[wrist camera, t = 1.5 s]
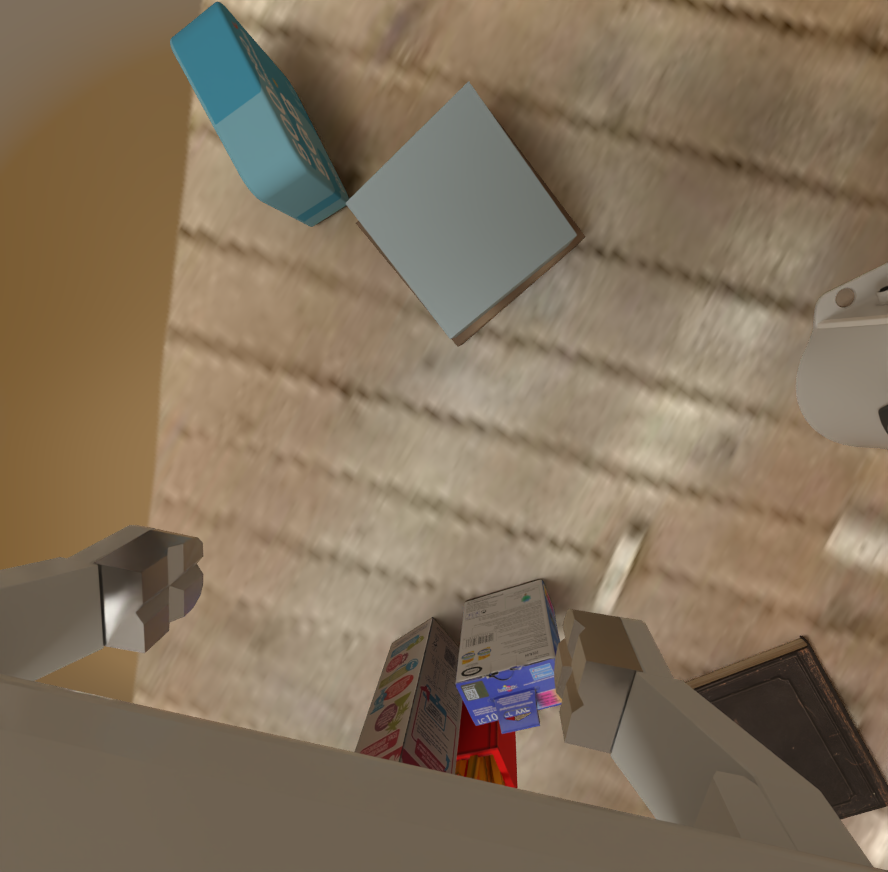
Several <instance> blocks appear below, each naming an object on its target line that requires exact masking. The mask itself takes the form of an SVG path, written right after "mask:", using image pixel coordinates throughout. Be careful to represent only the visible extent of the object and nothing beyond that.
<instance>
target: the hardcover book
mask: <svg viewBox="0 0 888 872" xmlns="http://www.w3.org/2000/svg"><path fill="white" fill-rule="evenodd" d="M686 684H687V685H689V686H690V687H691V688H692V689H694V690H695V691H696V692H697V693H699V694H700V695H701V696H702V697H704V698H705V699H706V700H707V701H709V702H710V703H711V704H712V705H714V706H715V707H716V708H717V709H719V710H720V711H721V712H722V713H724V714H725V715H726V716H727V717H729V718H730V719H731V720H732V721H734V722H735V723H736V724H737V725H739V726H740V727H741V728H742V729H744V730H745V731H746V732H747V733H749V734H750V735H751V736H752V737H753V738H755V739H756V740H757V741H758V742H760V743H761V744H762V745H763V746H765V747H766V748H767V749H768V750H770V751H771V752H772V753H773V754H775V755H776V756H777V757H778V758H780V759H781V760H782V761H783V762H785V763H786V764H787V765H788V766H790V767H791V768H792V769H793V770H795V771H796V772H797V773H798V774H800V775H801V776H802V777H803V778H805V779H806V780H807V781H808V782H810V783H811V784H812V785H813V786H815V787H816V788H817V789H818V790H820V791H821V793H822V794H823V796H824V797H825V799H826V800H827V801H828V803H829V804H830V806H831V807H832V809H833V810H834V811H835V813H836V814H837V816H838V817H839V819H844V818H847V817H851V816H854V815H858V814H861V813H865V812H868V811H872V810H875V809H879V808H882V807H886V806H888V786H887V784H886V782H885V780H884V778H883V777H882V775H881V773H880V771H879V769H878V768H877V766H876V764H875V762H874V760H873V759H872V757H871V755H870V753H869V751H868V749H867V748H866V746H865V744H864V742H863V740H862V739H861V737H860V735H859V733H858V731H857V729H856V728H855V726H854V724H853V722H852V720H851V719H850V717H849V715H848V713H847V711H846V710H845V708H844V706H843V704H842V702H841V700H840V699H839V697H838V695H837V693H836V691H835V690H834V688H833V686H832V684H831V682H830V681H829V679H828V677H827V675H826V673H825V671H824V670H823V668H822V666H821V664H820V662H819V661H818V659H817V657H816V655H815V653H814V651H813V650H812V648H811V646H810V644H809V643H808V642H807V640H806V639H805V638H804V637H802V636H800V639H797V640H795V641H792V642H790V643H787V644H784V645H782V646H779V647H777V648H774V649H771V650H769V651H766V652H764V653H761V654H758V655H756V656H753V657H751V658H748V659H745V660H743V661H740V662H738V663H735V664H732V665H730V666H727V667H725V668H722V669H719V670H717V671H714V672H712V673H709V674H707V675H704V676H701V677H699V678H696V679H694V680H691V681H688V682H686Z"/></svg>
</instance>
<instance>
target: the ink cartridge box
mask: <svg viewBox="0 0 888 872" xmlns="http://www.w3.org/2000/svg"><path fill="white" fill-rule="evenodd" d="M558 643H560V639H559V634H558V629H557V624H556V618H555V611H554V608H553V605H552V603H551V600H550V597H549V595H548V592H547V590H546V587H545V585H544V582H543V580H537V581H534V582H530V583H527V584H524V585H520V586H517V587H514V588H510V589H507V590H504V591H500V592H497V593H494V594H490V595H487V596H484V597H480V598H477V599H474V600H470V601H467V602H465V604H464V612H463V622H462V630H461V642H460V649H459V658H458V666H457V674H456V682H455V684H456V688H457V690H458V692H459V693H460V695H461V697H462V699H463V701H464V703H465V705H466V707H467V710H468V712H469V714H470V716H471V718H472V720H473V722H474V723H475V725H476V726H478V725H482V724H486V723H489V722H493V721H497V720H499V724H500V728H501V733H502V734H504V733H509V732H513V731H518V730H522V729H527V728H532V727H536V726H540V721H539V715H538V710H541V709H545V708H549V707H553V706H557V705H561V702H562V699H561V698H560V697H559V696H558V694H557V693H556V689H555V682H554V666H555V656H556V652H557V647H558ZM529 712H531V714H530V715H528V716H526V717H525V718H523V719H521V720H519V721H516V720H507V719H505V718H509V717H513V716H517V715H521V714H525V713H529Z"/></svg>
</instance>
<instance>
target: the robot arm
mask: <svg viewBox="0 0 888 872" xmlns="http://www.w3.org/2000/svg"><path fill="white" fill-rule="evenodd" d="M844 288H850V289H851V290H853V292H854V295H855V297H854V300H853V302H852V303H851V304H850V305H849V306H847V307H844V308H843V307H839V306H838V305H837V304H836V302H835V297H836V295H837V293H838V292H839V291H840V290H842V289H844ZM796 395H797V400H798V404H799V407H800V410H801V412H802V414H803V416H804V417H805V419H806V420H807V422H808V423H809V424H810V425H811V426H812V427H813V428H814V429H815V430H816V431H817V432H818V433H820V434H821V435H822V436H824V437H826V438H828V439H830V440H832V441H834V442H837V443H840V444H843V445H848V446H854V447H866V448H880V449H888V262H887V263H885V264H883V265H881V266H879V267H877V268H875V269H873V270H871V271H869V272H867V273H865V274H863V275H861V276H859V277H857V278H855V279H852V280H850V281H848V282H846V283H844V284H842V285H840V286H838V287H836V288H834V289H832V290H830V291H828V292H826V293H825V294H823V295H822V296H821V297H820V298H819V299H818V301H817V303H816V306H815V312H814V322H813V331H812V334H811V337H810V340H809V342H808V344H807V346H806V348H805V351H804V353H803V355H802V358H801V361H800V364H799V368H798V372H797V378H796ZM202 557H203V543H202V541H201V540H200V539H199V538H197V537H193V536H188V535H183V534H179V533H174V532H169V531H164V530H160V529H155V528H150V527H145V526H139V525H129V526H127V527H125V528H124V529H122V530H120V531H118V532H116V533H114V534H112V535H110V536H108V537H107V538H105V539H103V540H101V541H99V542H97V543H95V544H94V545H92V546H90V547H88V548H86V549H84V550H82V551H80V552H79V553H77V554H75V555H73V556H71V557H69V558H61V557H59V558H55V559H50V560H45V561H41V562H36V563H31V564H27V565H22V566H18V567H13V568H9V569H4V570H0V872H888V871H887V870H883V869H878V868H874V867H873V866H872V864H871V863H870V861H869V860H868V859H867V857H866V856H865V854H864V853H863V851H862V850H861V849H860V847H859V846H858V844H857V843H856V841H855V840H854V839H853V837H852V836H851V834H850V833H849V831H848V830H847V829H846V827H845V826H844V824H843V823H842V821H841V820H840V819H839V817H838V816H837V814H836V813H835V811H834V810H833V809H832V807H831V806H830V804H829V803H828V801H827V800H826V799H825V797H824V796H823V794H822V793H821V791H820V790H818V789H817V788H816V787H815V786H813V785H812V784H811V783H810V782H808V781H807V780H806V779H805V778H803V777H802V776H801V775H800V774H798V773H797V772H796V771H795V770H793V769H792V768H791V767H790V766H788V765H787V764H786V763H785V762H783V761H782V760H781V759H780V758H778V757H777V756H776V755H775V754H773V753H772V752H771V751H770V750H768V749H767V748H766V747H765V746H763V745H762V744H761V743H760V742H758V741H757V740H756V739H755V738H753V737H752V736H751V735H750V734H749V733H747V732H746V731H745V730H744V729H742V728H741V727H740V726H739V725H737V724H736V723H735V722H734V721H732V720H731V719H730V718H729V717H727V716H726V715H725V714H724V713H722V712H721V711H720V710H719V709H717V708H716V707H715V706H714V705H712V704H711V703H710V702H709V701H707V700H706V699H705V698H704V697H702V696H701V695H700V694H699V693H697V692H696V691H695V690H694V689H692V688H691V687H690V686H689V685H687V684H686V683H685V682H684V681H682V680H677V679H674V677H673V675H672V674H671V672H670V670H669V668H668V666H667V664H666V662H665V660H664V658H663V656H662V654H661V652H660V650H659V649H658V647H657V645H656V643H655V641H654V639H653V637H652V635H651V633H650V631H649V629H648V627H647V625H646V624H645V623H644V622H643V621H642V620H636V619H630V618H623V617H615V616H609V615H603V614H597V613H591V612H585V611H579V610H573V609H568V610H567V612H566V615H565V618H564V622H563V630H564V634H565V639H563V640H562V641H561V642H560V643H558V647H557V652H556V656H555V666H554V682H555V689H556V693H557V694H558V696H559V697H560V698H561V699H562V702H561V707H560V711H559V713H560V719H561V725H562V730H563V736H564V742H565V743H569V744H573V745H577V746H582V747H586V748H590V749H594V750H598V751H602V752H606V753H610V754H611V757H612V758H613V760H614V761H615V763H616V764H617V765H618V767H619V768H620V769H621V771H622V772H623V774H624V775H625V776H626V778H627V779H628V780H629V782H630V783H631V785H632V786H633V787H634V789H635V790H636V792H637V793H638V794H639V796H640V797H641V798H642V800H643V801H644V803H645V804H646V805H647V807H648V808H649V809H650V811H651V812H652V814H653V815H654V816H655V818H656V819H653V818H649V817H644V816H639V815H635V814H630V813H626V812H621V811H617V810H612V809H608V808H603V807H599V806H594V805H589V804H585V803H580V802H575V801H571V800H566V799H562V798H557V797H553V796H548V795H544V794H539V793H535V792H530V791H526V790H521V789H517V788H512V787H508V786H504V785H499V784H495V783H490V782H486V781H481V780H477V779H472V778H468V777H463V776H459V775H454V774H450V773H445V772H441V771H436V770H432V769H427V768H423V767H418V766H414V765H409V764H405V763H400V762H396V761H391V760H387V759H382V758H378V757H373V756H369V755H364V754H360V753H355V752H351V751H346V750H342V749H337V748H333V747H328V746H324V745H319V744H315V743H310V742H306V741H301V740H296V739H292V738H287V737H283V736H278V735H274V734H269V733H265V732H260V731H255V730H251V729H246V728H242V727H237V726H233V725H228V724H224V723H219V722H215V721H210V720H206V719H201V718H197V717H192V716H188V715H183V714H179V713H174V712H170V711H165V710H161V709H156V708H152V707H147V706H143V705H138V704H134V703H129V702H124V701H120V700H115V699H111V698H107V697H102V696H98V695H93V694H89V693H84V692H79V691H75V690H71V689H66V688H62V687H57V686H53V685H48V684H44V683H39V682H35V680H37V679H39V678H41V677H43V676H45V675H47V674H50V673H51V672H54V671H56V670H58V669H60V668H62V667H64V666H66V665H69V664H71V663H73V662H75V661H77V660H79V659H81V658H83V657H86V656H88V655H90V654H92V653H94V652H96V651H98V650H100V649H102V648H103V647H104V646H108V647H113V648H120V649H124V650H130V651H136V652H141V653H145V652H147V651H148V650H149V649H150V648H151V647H152V646H153V645H154V644H155V643H156V642H157V641H158V640H160V639H161V638H162V637H163V636H164V635H165V634H166V633H167V632H168V631H169V624H170V622H172V621H174V620H177V619H179V618H182V617H184V616H185V615H186V614H187V613H188V612H189V611H190V610H191V609H192V608H193V607H194V606H195V604H196V602H197V600H198V598H199V597H200V595H201V591H202V587H203V573H202V571H201V570H200V568H199V566H198V565H197V563H198V562H199V561H200V559H201V558H202Z"/></svg>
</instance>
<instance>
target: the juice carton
mask: <svg viewBox="0 0 888 872" xmlns="http://www.w3.org/2000/svg"><path fill="white" fill-rule="evenodd" d="M459 649H460V648H459V647H458V646H457V645H456V644H455V642H454V641H453V640H452V639H451V638H450V637H449V635H448V634H447V633H446V632H445V631H444V630H443V629H442V627H441V626H440V625H439V624H438V623H437V622H436V621H435V619H434V618H433V617H432V618H431V619H429V620H428V621H426V622H425V623H423V624H421V625H420V626H418V627H417V628H415V629H414V630H412V631H410V632H409V633H407V634H406V635H404V636H403V637H401V638H399V639H398V640H396V641H395V642H393V643H392V644H391V647H390V650H389V653H388V656H387V659H386V662H385V665H384V667H383V670H382V673H381V676H380V679H379V682H378V685H377V688H376V691H375V694H374V697H373V700H372V702H371V705H370V708H369V711H368V714H367V717H366V720H365V723H364V726H363V729H362V732H361V735H360V738H359V741H358V744H357V746H356V749H355V753H360V754H364V755H369V756H373V757H378V758H382V759H387V760H391V761H396V762H400V763H405V764H409V765H414V766H418V767H423V768H427V769H432V770H436V771H441V772H445V773H450V774H454V775H455V768H456V758H457V748H458V739H459V729H460V719H461V709H462V697H461V695H460V693H459V692H458V690H457V688H456V684H455V682H456V674H457V666H458V658H459Z"/></svg>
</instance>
